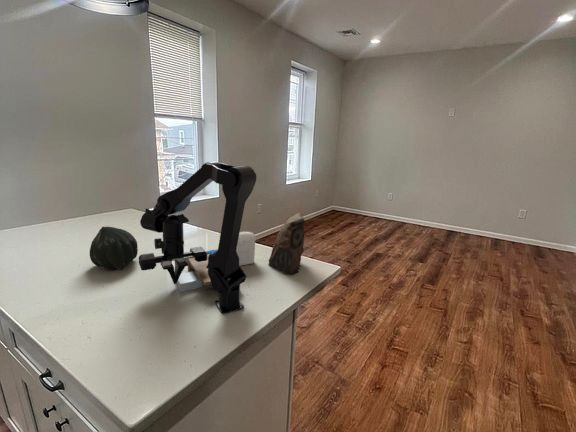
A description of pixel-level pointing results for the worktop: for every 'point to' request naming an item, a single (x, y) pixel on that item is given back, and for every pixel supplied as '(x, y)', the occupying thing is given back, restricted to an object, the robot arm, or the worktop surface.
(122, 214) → the worktop surface
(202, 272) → the tan cardboard box
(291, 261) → the owl
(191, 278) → the pale blue eraser
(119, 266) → the squash
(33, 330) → the worktop surface
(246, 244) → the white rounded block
